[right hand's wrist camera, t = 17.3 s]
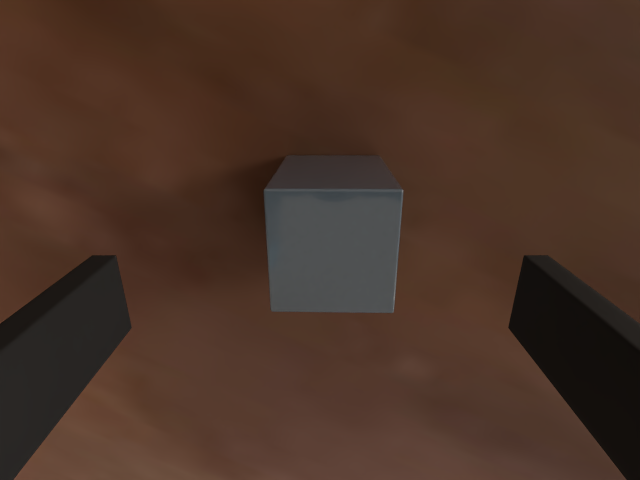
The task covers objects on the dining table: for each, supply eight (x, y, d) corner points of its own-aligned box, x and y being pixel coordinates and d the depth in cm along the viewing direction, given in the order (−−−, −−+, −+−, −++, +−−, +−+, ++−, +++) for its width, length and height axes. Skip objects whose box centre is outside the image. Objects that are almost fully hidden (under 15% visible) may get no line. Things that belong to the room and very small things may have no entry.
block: (375, 244, 23) (394, 314, 16) (289, 243, 24) (270, 312, 16) (380, 155, 21) (403, 189, 14) (285, 155, 22) (262, 188, 14)
